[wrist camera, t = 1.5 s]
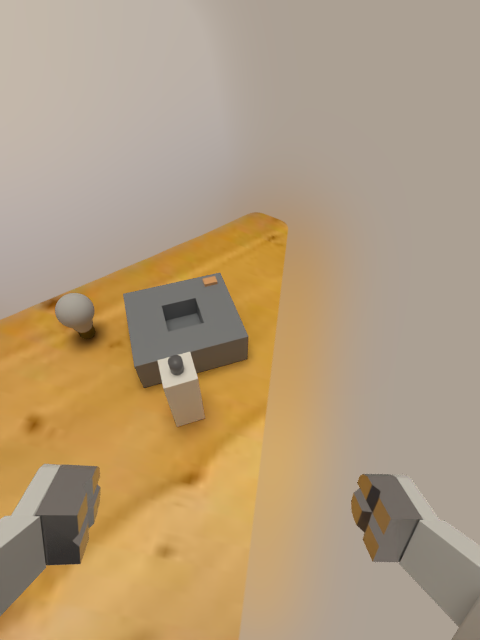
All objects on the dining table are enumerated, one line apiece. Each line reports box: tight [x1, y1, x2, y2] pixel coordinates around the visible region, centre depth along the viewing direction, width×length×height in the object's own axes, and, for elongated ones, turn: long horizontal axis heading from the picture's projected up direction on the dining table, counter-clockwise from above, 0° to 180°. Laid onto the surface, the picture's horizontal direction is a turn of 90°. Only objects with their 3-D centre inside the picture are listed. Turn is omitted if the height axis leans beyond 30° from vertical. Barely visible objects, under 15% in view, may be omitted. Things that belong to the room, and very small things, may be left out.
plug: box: [157, 352, 205, 427], centre depth 47 cm, size 4×4×14 cm
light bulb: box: [55, 293, 95, 339], centre depth 58 cm, size 6×6×10 cm
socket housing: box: [123, 273, 248, 388], centre depth 59 cm, size 18×16×7 cm
